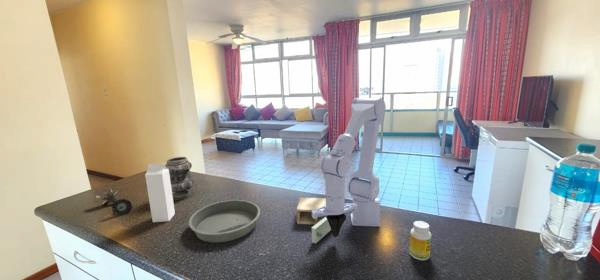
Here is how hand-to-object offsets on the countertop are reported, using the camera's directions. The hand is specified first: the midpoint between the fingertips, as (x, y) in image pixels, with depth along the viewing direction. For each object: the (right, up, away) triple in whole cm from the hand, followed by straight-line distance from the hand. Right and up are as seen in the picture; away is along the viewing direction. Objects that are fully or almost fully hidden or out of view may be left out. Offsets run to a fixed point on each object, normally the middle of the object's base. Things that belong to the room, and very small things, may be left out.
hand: (335, 235), depth 78 cm
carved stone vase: (-67, +3, +41) cm, 79 cm away
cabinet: (-4, 0, +16) cm, 17 cm away
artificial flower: (-91, 0, +30) cm, 96 cm away
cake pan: (-38, -2, +13) cm, 40 cm away
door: (-2, -2, +5) cm, 5 cm away
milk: (-64, -1, +20) cm, 67 cm away
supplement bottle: (+23, -3, -6) cm, 24 cm away
